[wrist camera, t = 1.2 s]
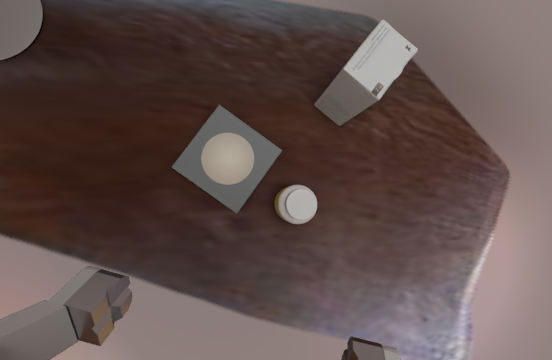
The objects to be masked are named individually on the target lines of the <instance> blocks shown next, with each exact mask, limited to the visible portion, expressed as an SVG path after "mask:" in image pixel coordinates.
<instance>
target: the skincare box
mask: <svg viewBox="0 0 552 360" xmlns="http://www.w3.org/2000/svg"><path fill="white" fill-rule="evenodd" d="M417 51H418V49H417V48H416V47H415V46H413V45H412V44H411V43H410V42H409V41H407V40H406V39H405V38H404V37H403V36H401V35H400V34H399V33H398V32H397V31H396V30H394V29H393V28H392V27H391V26H390V25H389V24H388V23H387V22H386V21H384V20H382V21H381V22H380V23H379V24H378V25H377V26H376V28H375V29H374V30H373V31H372V32H371V34H370V35H369V36H368V37H367V38H366V40H365V41H364V42H363V43H362V45H361V46H360V47H359V48H358V50H357V51H356V52H355V53H354V55H353V56H352V57H351V59H350V60H349V61H348V62H347V64H346V65H345V66H344V67H343V69H342V70H341V71H340V72H339V74H338V75H337V76H336V78H335V79H334V80H333V81H332V83H331V84H330V85H329V86H328V88H327V89H326V90H325V91H324V93H323V94H322V95H321V96H320V98H319V99H318V100H317V101H316V102H315V104H314V106H316V107H317V108H318V109H319V110H320V111H322V112H323V113H324V114H325V115H326V116H328V117H329V118H330V119H331V120H332V121H334V122H335V123H336V124H337V125H338V126H341V125H343V124H344V123H345V122H347V121H348V120H350V119H351V118H353V117H354V116H356V115H357V114H359V113H360V112H362V111H363V110H365V109H366V108H368V107H369V106H371V105H372V104H374V103H375V102H377V101H378V100H380V98H381V97H382V96H383V94H384V93H385V91H386V90H387V89H388V87H389V86H390V85H391V83H392V82H393V81H394V80H395V79H396V78H397V77H398V76H399V75H400V74H401V72H402V70H403V68H404V66H405V65H406V64H407V63H408V61H409V60H410V59H411V58H412V57H413V56H414V55H415V53H416V52H417Z"/></svg>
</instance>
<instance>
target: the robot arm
mask: <svg viewBox="0 0 552 360" xmlns="http://www.w3.org/2000/svg"><path fill="white" fill-rule="evenodd" d="M42 19H43V11H42V5H41V1H40V0H0V60H3V59H7V58H10V57H12V56H15V55H17V54H18V53H20V52H22V51H23V50H24V49H26V48H27V47H28V46H29V45H30V44H31V43H32V42H33V41H34V39H35V38H36V36H37V35H38V33H39V30H40V28H41V24H42ZM129 284H130V281H129V277H127V276H124V275H120V274H117V273H113V272H110V271H106V270H103V269H100V268H96V267H92V266H88V267H86V268H84V269H83V270H82V271H80V272H79V273H78V274H77V275H76V276H75V277H74V278H73V279H72V280H71V281H70V282H69V283H67V284H66V285H65V286H64V287H63V288H62V289H61V290H60V291H59V292H58V293H57V294H56V295H54V296H53V297H52V298H51V299H50V300H49V301H46V300H44V301H42V302H39V303H37V304H34V305H32V306H30V307H28V308H25V309H23V310H20V311H18V312H16V313H14V314H11V315H9V316H6V317H4V318H2V319H0V360H50V359H52V358H53V357H55V356H56V355H58V354H60V353H61V352H63V351H64V350H66V349H67V348H69V347H70V346H72V345H74V344H75V343H77V342H78V340H80V341H83V342H87V343H91V344H95V345H98V346H101V345H102V343H103V342H104V341H105V340H106V338H107V337H108V336H109V334H110V333H111V332H112V330H113V329H114V322H115V321H117V320H119V319H120V318H122V317H123V316H124V314H125V313H126V312H127V310H128V308H129V306H130V304H131V300H132V292H131V290H130V289H129V288H128V287H127V286H128V285H129ZM341 360H401V359H400V354H399V351H398V350H397V349H396V348H393V347H388V346H384V345H381V344H379V343H375V342H371V341H367V340H363V339H359V338H355V337H350V338H349V340H348V349H346V350H345V351H344V353H343V355H342V359H341Z"/></svg>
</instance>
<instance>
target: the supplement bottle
mask: <svg viewBox="0 0 552 360" xmlns="http://www.w3.org/2000/svg"><path fill="white" fill-rule="evenodd" d="M274 207H275V211H276V213H277V214H278V216H279V217H280V218H282V219H283V220H285V221H288V222H290V223H293V224H303V223H306V222H308V221H309V220H310V219H312V217H313V216H314V215H315V213H316V210H317V200H316V197H315V195H314V193H313V192H312V191H311V190H310V189H309V188H307V187H305V186H303V185H292V186H289V187H287V188H284V189H282V190H281V191H280V192H279V193H278V194H277V195H276V197H275V200H274Z"/></svg>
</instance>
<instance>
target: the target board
mask: <svg viewBox="0 0 552 360" xmlns="http://www.w3.org/2000/svg"><path fill="white" fill-rule="evenodd" d="M281 152H282V150H281V149H280V148H278V147H277V146H275V145H274V144H273V143H271V142H270V141H268V140H267V139H266V138H264V137H263V136H262V135H260V134H259V133H257V132H256V131H255V130H253V129H252V128H251V127H249V126H248V125H246V124H245V123H244V122H242V121H241V120H239V119H238V118H237V117H235V116H234V115H233V114H231V113H230V112H228V111H227V110H226V109H224V108H223V107H222V106H220V105H219V106H218V107H217V109H216V110H215V111H214V113H213V114H212V115H211V116H210V118H209V119H208V120H207V122H206V123H205V124H204V126H203V127H202V128H201V130H200V131H199V132H198V133H197V135H196V136H195V137H194V139H193V140H192V141H191V143H190V144H189V145H188V146H187V148H186V149H185V150H184V152H183V153H182V154H181V156H180V157H179V158H178V159H177V161H176V162H175V163H174V165H173V166H172V168H173V169H175V170H176V171H177V172H179V173H180V174H182V175H183V176H184V177H186V178H187V179H189V180H190V181H192V182H193V183H194V184H196V185H197V186H199V187H200V188H201V189H203V190H204V191H206V192H207V193H209V194H210V195H211V196H213V197H214V198H216V199H217V200H218V201H220V202H221V203H223V204H224V205H226V206H227V207H228V208H230V209H231V210H233V211H234V212H235V213H238V211H239V210H240V209H241V207H242V206H243V204H244V203H245V202H246V200H247V199H248V198H249V196H250V195H251V193H252V192H253V191H254V189H255V188H256V186H257V185H258V184H259V182H260V181H261V179H262V178H263V177H264V175H265V174H266V172H267V171H268V170H269V168H270V167H271V165H272V164H273V163H274V161H275V160H276V158H277V157H278V156H279V154H280V153H281Z"/></svg>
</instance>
